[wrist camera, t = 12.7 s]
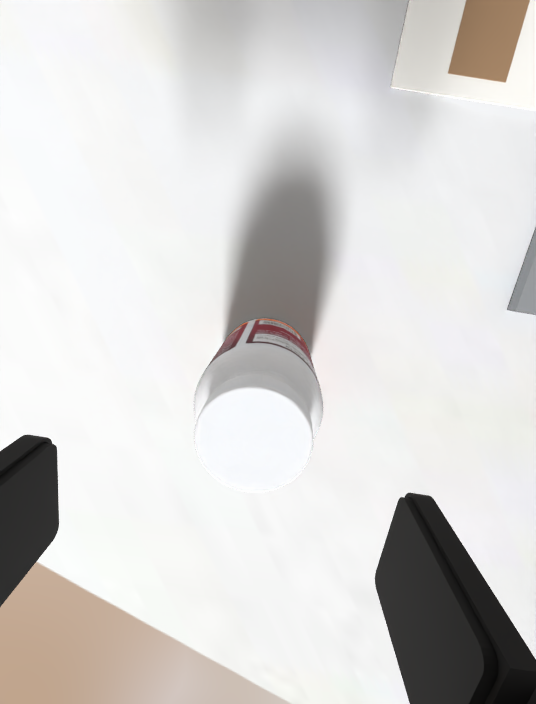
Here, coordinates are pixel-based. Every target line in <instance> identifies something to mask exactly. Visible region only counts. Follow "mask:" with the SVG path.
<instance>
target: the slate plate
mask: <svg viewBox="0 0 536 704" xmlns="http://www.w3.org/2000/svg"><path fill="white" fill-rule="evenodd" d="M507 310H510V311H515V312H521V313H527V314H533V315H536V229H535V232H534V235H533V238H532V241H531V243H530V246H529V249H528V252H527V255H526V258H525V261H524V263H523V266H522V269H521V272H520V275H519V278H518V281H517V283H516V286H515V289H514V292H513V295H512V298H511V301H510V303H509V306H508V309H507Z"/></svg>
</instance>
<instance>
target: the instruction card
mask: <svg viewBox="0 0 536 704" xmlns="http://www.w3.org/2000/svg"><path fill="white" fill-rule="evenodd" d="M390 88H394V89H400V90H407V91H413V92H419V93H426V94H432V95H438V96H445V97H451V98H457V99H463V100H470V101H476V102H482V103H489V104H495V105H501V106H508V107H514V108H520V109H527V110H533V111H536V0H409V3H408V7H407V12H406V17H405V21H404V26H403V31H402V35H401V40H400V44H399V49H398V54H397V58H396V63H395V68H394V72H393V77H392V82H391V86H390Z"/></svg>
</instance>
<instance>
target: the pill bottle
mask: <svg viewBox="0 0 536 704" xmlns="http://www.w3.org/2000/svg"><path fill="white" fill-rule="evenodd" d="M194 415H195V420H196V425H195V431H194V442H195V448H196V452H197V454H198V457H199V459H200V461H201V463H202V464H203V466H204V467H205V469H206V470H207V471H208V472H209V473H210V474H211V475H212V476H213V477H214V478H215V479H217V480H218V481H220V482H221V483H222V484H224V485H226V486H228V487H230V488H233V489H236V490H240V491H244V492H253V493H257V492H267V491H272V490H275V489H278V488H281V487H283V486H285V485H287V484H288V483H290V482H291V481H293V480H294V479H295V478H296V477H297V476H298V475H299V474H300V473H301V472H302V471H303V470H304V468H305V467H306V465H307V463H308V461H309V459H310V457H311V453H312V449H313V439H314V438H315V436H316V434H317V432H318V430H319V427H320V424H321V421H322V415H323V399H322V394H321V389H320V386H319V383H318V380H317V376H316V373H315V370H314V367H313V364H312V360H311V357H310V354H309V350H308V348H307V345H306V343H305V342H304V340H303V338H302V337H301V336H300V334H299V333H298V332H297V331H296V330H295V329H293V328H292V327H291V326H289V325H288V324H286V323H284V322H282V321H279V320H275V319H269V318H261V319H254V320H250V321H248V322H245V323H243V324H242V325H240V326H239V327H237V328H236V329H235V330H234V331H233V332H232V333H231V334H230V335H229V336H228V337H227V338H226V340H225V341H224V343H223V344H222V346H221V348H220V349H219V351H218V352H217V354H216V355H215V356H214V358H213V359H212V361H211V362H210V364H209V365H208V367H207V368H206V370H205V371H204V373H203V375H202V377H201V378H200V381H199V383H198V385H197V388H196V392H195V397H194Z"/></svg>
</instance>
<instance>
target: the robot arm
mask: <svg viewBox="0 0 536 704" xmlns="http://www.w3.org/2000/svg"><path fill="white" fill-rule="evenodd" d="M58 527H59V511H58V472H57V447H56V446H55V445H54V444H52V441H51V440H50V439H49V438H46V437H39V436H33V435H24V436H22V437H20V438H19V439H17V440H16V441H14V442H13V443H12V444H10V445H9V446H7V447H6V448H4V449H3V450H2V451H0V607H1V605H2V604H3V603H4V601H5V600H6V599H7V598H8V596H9V595H10V594H11V593H12V591H13V590H14V589H15V588H16V586H17V585H18V584H19V583H20V581H21V580H22V579H23V578H24V576H25V575H26V574H27V572H28V571H29V570H30V569H31V567H32V566H33V565H34V564H35V562H36V561H37V560H38V559H39V557H40V556H41V555H42V554H43V552H44V551H45V550H46V549H47V547H48V546H49V545H50V544H51V542H52V541H53V539H54V538H55V536H56V534H57V531H58ZM375 584H376V590H377V593H378V596H379V600H380V603H381V607H382V610H383V613H384V617H385V620H386V624H387V627H388V630H389V634H390V637H391V641H392V644H393V648H394V651H395V654H396V658H397V661H398V665H399V668H400V671H401V675H402V678H403V682H404V685H405V688H406V692H407V695H408V699H409V702H410V704H536V659H535V658H534V656H533V655H532V653H531V651H530V650H529V648H528V647H527V645H526V644H525V642H524V640H523V639H522V637H521V636H520V634H519V633H518V631H517V629H516V628H515V626H514V625H513V623H512V622H511V620H510V618H509V617H508V615H507V614H506V612H505V611H504V609H503V607H502V606H501V604H500V603H499V601H498V600H497V598H496V596H495V595H494V593H493V592H492V590H491V589H490V587H489V585H488V584H487V582H486V581H485V579H484V578H483V576H482V574H481V573H480V571H479V570H478V568H477V567H476V565H475V563H474V562H473V560H472V559H471V557H470V556H469V554H468V553H467V551H466V549H465V548H464V546H463V545H462V543H461V542H460V540H459V538H458V537H457V535H456V534H455V532H454V531H453V529H452V527H451V526H450V524H449V523H448V521H447V520H446V518H445V516H444V515H443V513H442V512H441V510H440V509H439V507H438V505H437V504H436V502H435V501H434V499H433V498H432V497H431V496H427V495H421V494H414V493H407V494H406V496H405V498H403V497H401V498H400V499H399V501H398V503H397V506H396V510H395V513H394V516H393V519H392V522H391V526H390V529H389V532H388V535H387V538H386V541H385V545H384V548H383V551H382V554H381V557H380V560H379V564H378V567H377V570H376V574H375Z"/></svg>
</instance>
